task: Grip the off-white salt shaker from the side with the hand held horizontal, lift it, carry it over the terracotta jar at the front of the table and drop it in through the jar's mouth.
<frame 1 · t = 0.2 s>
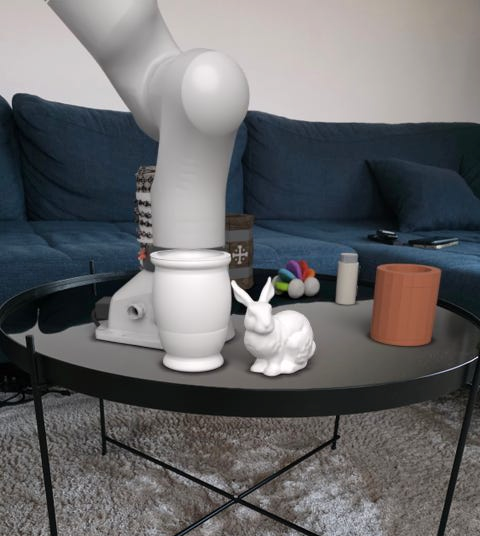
rainbow wheeled toy: (294, 296, 126), on the table
decorative candle: (162, 301, 120), on the table
jar: (193, 365, 83), on the table
salt shaker: (345, 302, 120), on the table
rabbit: (271, 369, 81), on the table
mug: (211, 286, 135), on the table
terracotta jar: (400, 337, 96), on the table
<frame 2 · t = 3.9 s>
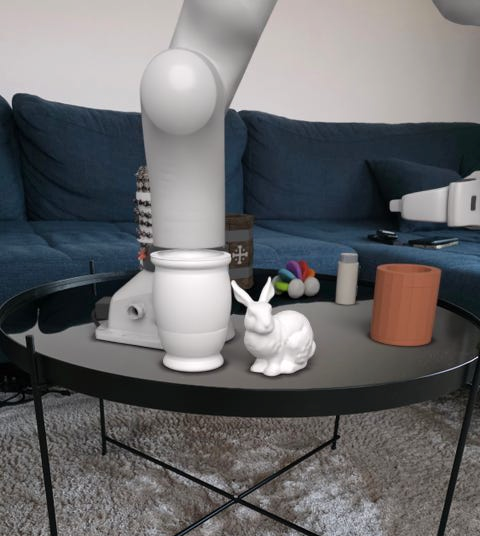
hand: (407, 203, 104), 19 cm above the table, tool horizontal, fingers open, 8 cm apart
nothing on the table moved.
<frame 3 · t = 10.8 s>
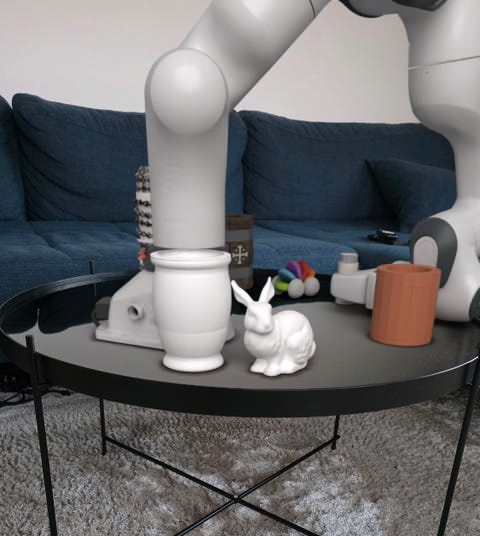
hand: (343, 275, 118), 5 cm above the table, tool horizontal, fingers closed on salt shaker, 4 cm apart
salt shaker: (345, 302, 120), on the table, touching gripper
everything else where it was.
when the fingers open (14 cm above the table, at t = 19.3 s): salt shaker drops 7 cm, resting on terracotta jar.
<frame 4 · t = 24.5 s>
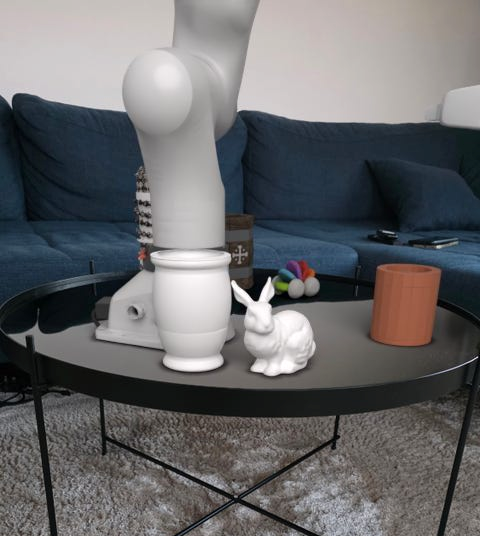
hand: (447, 115, 81), 32 cm above the table, tool horizontal, fingers open, 8 cm apart
salt shaker: (402, 332, 96), point 1 cm above the table, touching terracotta jar
everything else where it was.
at the end: salt shaker 0.3 cm off-centre in the terracotta jar, point 0.8 cm above the terracotta jar's base; the gripper is holding nothing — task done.
